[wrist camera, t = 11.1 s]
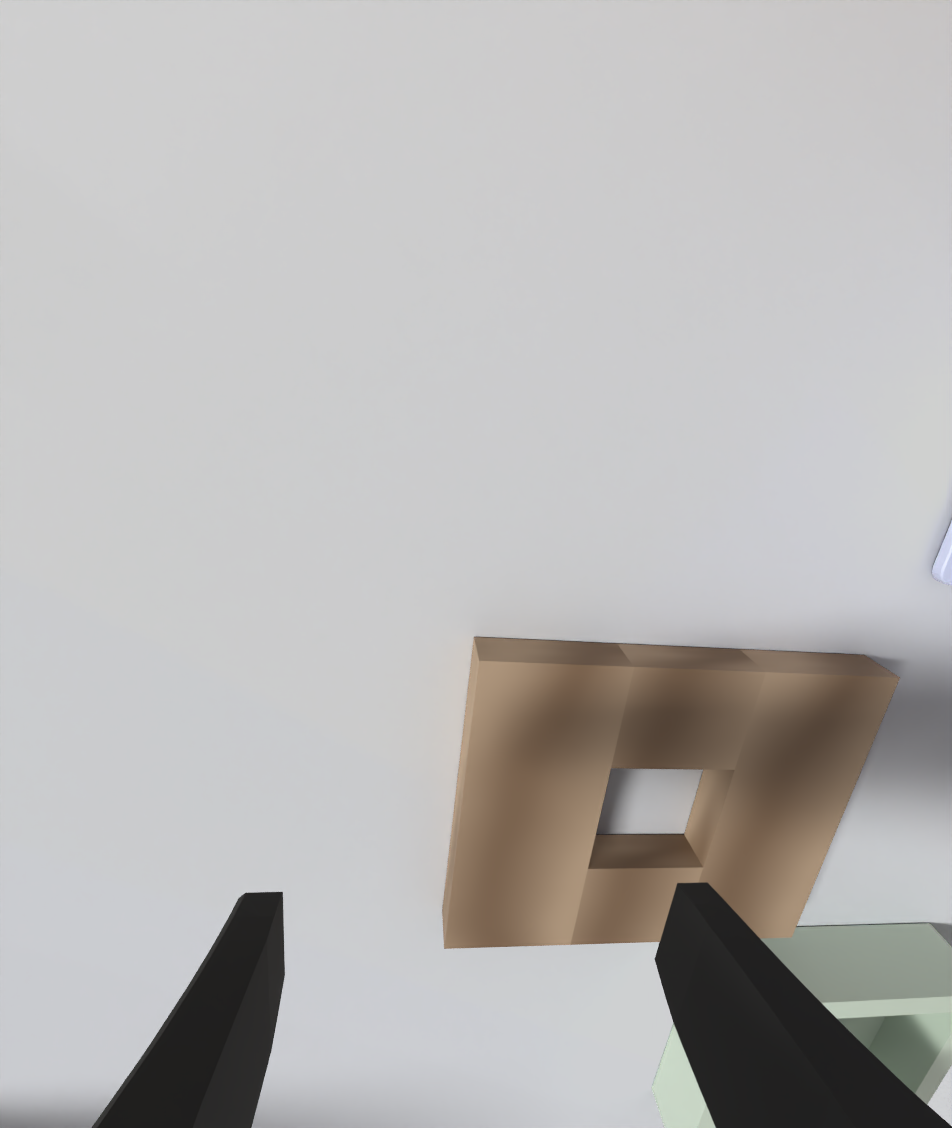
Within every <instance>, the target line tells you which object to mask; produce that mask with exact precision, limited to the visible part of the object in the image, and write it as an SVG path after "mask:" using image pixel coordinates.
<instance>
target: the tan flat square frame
mask: <svg viewBox="0 0 952 1128" xmlns="http://www.w3.org/2000/svg"><path fill="white" fill-rule="evenodd" d="M899 679H900V677H898V676H897V675H895V674H893V673H892V672H890V671H889V670H887V669H886V668H884V667H883V666H881V665H879V664H878V663H876V662H875V661H873V660H872V659H870V658H868V657H867V656H865V655H854V654H832V653H811V652H789V651H767V650H745V649H724V648H702V647H680V646H658V645H637V644H615V643H593V642H571V641H550V640H528V639H506V638H485V637H474V641H473V650H472V659H471V667H470V676H469V684H468V693H467V702H466V710H465V719H464V728H463V736H462V745H461V753H460V762H459V771H458V779H457V788H456V797H455V805H454V814H453V822H452V831H451V840H450V848H449V857H448V866H447V874H446V883H445V891H444V900H443V909H442V914H443V934H444V949H449V948H480V947H511V946H542V945H574V944H605V943H636V942H660V940H661V936H662V933H663V930H664V926H665V923H666V920H667V916H668V913H669V910H670V906H671V903H672V899H673V896H674V893H675V889H676V886H677V883H701V882H708V883H709V884H710V886H711V887H712V888H713V889H714V890H715V891H716V892H717V893H718V894H719V895H720V896H721V897H722V898H723V899H724V900H725V901H726V902H727V904H728V905H729V906H730V907H731V908H732V909H733V910H734V911H735V912H736V913H737V914H738V915H739V916H740V918H741V919H742V920H743V921H744V922H745V923H746V924H747V925H748V926H749V927H750V928H751V929H752V930H753V932H754V933H755V934H756V935H757V936H758V937H759V938H760V939H761V938H792V936H793V933H794V931H795V928H796V926H797V924H798V921H799V919H800V916H801V914H802V912H803V909H804V907H805V904H806V902H807V900H808V897H809V895H810V892H811V890H812V888H813V885H814V883H815V880H816V878H817V876H818V873H819V871H820V868H821V866H822V864H823V861H824V859H825V856H826V854H827V852H828V849H829V847H830V844H831V842H832V840H833V837H834V835H835V832H836V830H837V828H838V825H839V823H840V820H841V818H842V815H843V813H844V811H845V808H846V806H847V803H848V801H849V799H850V796H851V794H852V791H853V789H854V787H855V784H856V782H857V779H858V777H859V775H860V772H861V770H862V767H863V765H864V763H865V760H866V758H867V755H868V753H869V751H870V748H871V746H872V743H873V741H874V739H875V736H876V734H877V731H878V729H879V727H880V724H881V722H882V719H883V717H884V715H885V712H886V710H887V707H888V705H889V703H890V700H891V698H892V695H893V693H894V691H895V688H896V686H897V683H898V681H899ZM611 768H636V769H704V770H703V773H702V777H701V780H700V783H699V787H698V790H697V793H696V797H695V800H694V803H693V807H692V810H691V813H690V817H689V820H688V823H687V827H686V830H685V833H684V835H596V831H597V827H598V823H599V818H600V814H601V810H602V805H603V801H604V796H605V792H606V788H607V783H608V779H609V775H610V770H611Z"/></svg>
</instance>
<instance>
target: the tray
mask: <svg viewBox="0 0 952 1128" xmlns="http://www.w3.org/2000/svg"><path fill="white" fill-rule="evenodd" d="M761 940H762V941H763V942H764V943H765V944H766V945H767V947H768V948H769V949H770V950H771V951H772V952H773V953H774V954H775V955H776V956H777V957H778V958H779V959H780V960H781V961H782V963H783V964H784V965H785V966H786V967H787V968H788V969H789V970H790V971H791V972H792V973H793V974H794V975H795V976H796V977H797V978H798V979H799V980H800V981H801V982H802V983H803V985H804V986H805V987H806V988H807V989H808V990H809V991H810V992H811V993H812V994H813V995H814V996H815V997H816V998H817V999H818V1000H819V1001H820V1002H821V1003H822V1004H823V1005H824V1006H825V1007H826V1008H827V1009H828V1010H829V1011H830V1012H831V1013H832V1014H833V1015H834V1016H835V1017H836V1018H837V1019H838V1020H839V1021H840V1022H841V1023H842V1024H843V1025H844V1026H845V1027H846V1028H847V1029H848V1030H849V1031H850V1032H851V1033H852V1034H853V1035H854V1036H855V1037H856V1038H857V1039H858V1040H859V1041H860V1042H861V1043H862V1044H863V1045H864V1046H865V1047H866V1048H867V1049H868V1050H869V1051H870V1052H871V1053H873V1054H874V1055H875V1056H876V1057H877V1058H878V1059H879V1060H880V1061H881V1062H882V1063H883V1064H884V1065H885V1066H886V1067H887V1068H888V1069H889V1070H890V1071H891V1072H892V1073H893V1074H894V1075H895V1076H896V1077H898V1078H899V1079H900V1080H901V1081H902V1082H903V1083H904V1084H905V1085H906V1086H907V1087H908V1088H909V1089H910V1090H912V1091H913V1092H914V1093H915V1094H916V1095H917V1096H918V1097H919V1098H920V1099H921V1100H922V1101H923V1102H925V1103H926V1104H928V1102H929V1101H930V1099H931V1097H932V1096H933V1094H934V1093H935V1091H936V1089H937V1088H938V1086H939V1085H940V1083H941V1081H942V1080H943V1078H944V1076H945V1075H946V1073H947V1072H948V1070H949V1068H950V1067H951V1065H952V947H951V946H950V945H949V943H948V942H947V941H946V940H945V939H944V938H943V937H942V936H941V935H940V934H939V933H938V932H937V931H936V929H935V928H934V927H933V926H932V925H931V924H930V923H920V924H885V925H851V926H817V927H796V928H795V931H794V933H793V936H792V938H761ZM652 1091H653V1094H654V1097H655V1100H656V1103H657V1106H658V1109H659V1112H660V1115H661V1118H662V1121H663V1124H664V1127H665V1128H716V1127H715V1125H714V1122H713V1120H712V1118H711V1115H710V1113H709V1110H708V1108H707V1105H706V1103H705V1100H704V1098H703V1096H702V1093H701V1091H700V1088H699V1086H698V1083H697V1081H696V1078H695V1076H694V1073H693V1071H692V1068H691V1066H690V1063H689V1061H688V1058H687V1056H686V1054H685V1051H684V1049H683V1046H682V1044H681V1041H680V1038H679V1036H678V1033H677V1031H676V1028H675V1025H674V1024H673V1027H672V1030H671V1033H670V1036H669V1039H668V1042H667V1045H666V1048H665V1051H664V1054H663V1057H662V1060H661V1063H660V1066H659V1069H658V1071H657V1074H656V1077H655V1080H654V1083H653V1086H652Z"/></svg>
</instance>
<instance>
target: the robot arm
mask: <svg viewBox="0 0 952 1128" xmlns="http://www.w3.org/2000/svg"><path fill="white" fill-rule="evenodd" d="M932 575H933V578H934V579H935V580H937V581H939V582H942V583H944V584H947V585H952V521H951V524H950V526H949V529H948V531H947V533H946V536H945V538H944V541H943V543H942V546H941V548H940V551H939V553H938V556H937V558H936V560H935V563H934V565H933V569H932ZM655 962H656V965H657V969H658V972H659V976H660V979H661V983H662V986H663V990H664V993H665V997H666V1000H667V1003H668V1006H669V1009H670V1013H671V1016H672V1019H673V1022H674V1025H675V1028H676V1031H677V1033H678V1036H679V1038H680V1041H681V1044H682V1046H683V1049H684V1051H685V1054H686V1056H687V1058H688V1061H689V1063H690V1066H691V1068H692V1071H693V1073H694V1076H695V1078H696V1081H697V1083H698V1086H699V1088H700V1091H701V1093H702V1096H703V1098H704V1100H705V1103H706V1105H707V1108H708V1110H709V1113H710V1115H711V1118H712V1120H713V1122H714V1125H715V1127H716V1128H952V1126H951V1125H949V1124H948V1123H947V1122H946V1121H945V1120H944V1119H943V1118H941V1117H940V1116H939V1115H938V1114H937V1113H936V1112H935V1111H934V1110H932V1109H931V1108H930V1107H929V1106H928V1105H927V1104H926V1103H925V1102H923V1101H922V1100H921V1099H920V1098H919V1097H918V1096H917V1095H916V1094H915V1093H914V1092H913V1091H912V1090H910V1089H909V1088H908V1087H907V1086H906V1085H905V1084H904V1083H903V1082H902V1081H901V1080H900V1079H899V1078H898V1077H896V1076H895V1075H894V1074H893V1073H892V1072H891V1071H890V1070H889V1069H888V1068H887V1067H886V1066H885V1065H884V1064H883V1063H882V1062H881V1061H880V1060H879V1059H878V1058H877V1057H876V1056H875V1055H874V1054H873V1053H871V1052H870V1051H869V1050H868V1049H867V1048H866V1047H865V1046H864V1045H863V1044H862V1043H861V1042H860V1041H859V1040H858V1039H857V1038H856V1037H855V1036H854V1035H853V1034H852V1033H851V1032H850V1031H849V1030H848V1029H847V1028H846V1027H845V1026H844V1025H843V1024H842V1023H841V1022H840V1021H839V1020H838V1019H837V1018H836V1017H835V1016H834V1015H833V1014H832V1013H831V1012H830V1011H829V1010H828V1009H827V1008H826V1007H825V1006H824V1005H823V1004H822V1003H821V1002H820V1001H819V1000H818V999H817V998H816V997H815V996H814V995H813V994H812V993H811V992H810V991H809V990H808V989H807V988H806V987H805V986H804V985H803V983H802V982H801V981H800V980H799V979H798V978H797V977H796V976H795V975H794V974H793V973H792V972H791V971H790V970H789V969H788V968H787V967H786V966H785V965H784V964H783V963H782V961H781V960H780V959H779V958H778V957H777V956H776V955H775V954H774V953H773V952H772V951H771V950H770V949H769V948H768V947H767V945H766V944H765V943H764V942H763V941H762V940H761V939H760V938H759V937H758V936H757V935H756V934H755V933H754V932H753V930H752V929H751V928H750V927H749V926H748V925H747V924H746V923H745V922H744V921H743V920H742V919H741V918H740V916H739V915H738V914H737V913H736V912H735V911H734V910H733V909H732V908H731V907H730V906H729V905H728V904H727V902H726V901H725V900H724V899H723V898H722V897H721V896H720V895H719V894H718V893H717V892H716V891H715V890H714V889H713V888H712V887H711V886H710V884H709V883H708V882H701V883H677V886H676V889H675V893H674V896H673V899H672V903H671V906H670V910H669V913H668V916H667V920H666V923H665V926H664V930H663V933H662V936H661V940H660V943H659V947H658V950H657V953H656V957H655ZM284 976H285V967H284V927H283V892H261V893H245V894H244V895H242V896H241V897H240V898H239V899H238V901H237V903H236V905H235V906H234V908H233V910H232V912H231V914H230V916H229V918H228V920H227V921H226V923H225V925H224V927H223V929H222V930H221V932H220V934H219V936H218V937H217V939H216V941H215V943H214V944H213V946H212V948H211V949H210V951H209V953H208V954H207V956H206V958H205V959H204V961H203V963H202V964H201V966H200V968H199V969H198V971H197V972H196V974H195V976H194V977H193V979H192V981H191V982H190V984H189V985H188V987H187V989H186V990H185V992H184V993H183V995H182V996H181V998H180V999H179V1001H178V1002H177V1004H176V1006H175V1007H174V1009H173V1010H172V1012H171V1013H170V1015H169V1016H168V1018H167V1019H166V1021H165V1022H164V1024H163V1026H162V1027H161V1029H160V1030H159V1032H158V1033H157V1035H156V1036H155V1038H154V1039H153V1041H152V1042H151V1044H150V1045H149V1047H148V1048H147V1050H146V1051H145V1053H144V1054H143V1056H142V1057H141V1059H140V1060H139V1061H138V1063H137V1064H136V1066H135V1067H134V1069H133V1070H132V1071H131V1073H130V1074H129V1076H128V1077H127V1078H126V1080H125V1081H124V1083H123V1084H122V1086H121V1087H120V1088H119V1090H118V1091H117V1093H116V1094H115V1095H114V1097H113V1098H112V1100H111V1101H110V1103H109V1104H108V1105H107V1107H106V1108H105V1110H104V1111H103V1113H102V1114H101V1115H100V1117H99V1118H98V1120H97V1121H96V1122H95V1124H94V1125H93V1127H92V1128H251V1127H252V1123H253V1119H254V1115H255V1111H256V1108H257V1104H258V1100H259V1096H260V1092H261V1088H262V1084H263V1081H264V1077H265V1073H266V1069H267V1065H268V1061H269V1057H270V1053H271V1049H272V1044H273V1038H274V1033H275V1027H276V1022H277V1016H278V1010H279V1005H280V999H281V993H282V987H283V982H284Z"/></svg>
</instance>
